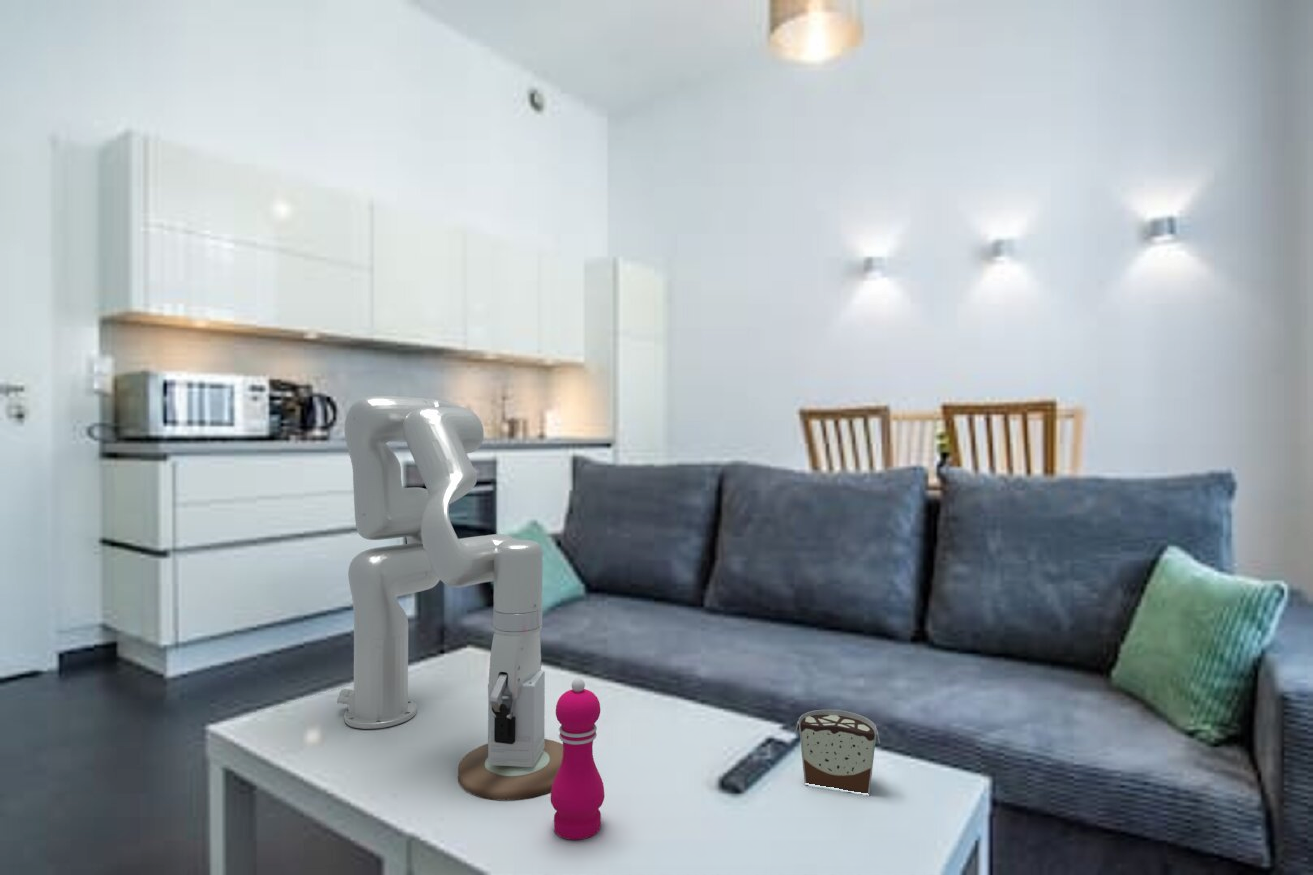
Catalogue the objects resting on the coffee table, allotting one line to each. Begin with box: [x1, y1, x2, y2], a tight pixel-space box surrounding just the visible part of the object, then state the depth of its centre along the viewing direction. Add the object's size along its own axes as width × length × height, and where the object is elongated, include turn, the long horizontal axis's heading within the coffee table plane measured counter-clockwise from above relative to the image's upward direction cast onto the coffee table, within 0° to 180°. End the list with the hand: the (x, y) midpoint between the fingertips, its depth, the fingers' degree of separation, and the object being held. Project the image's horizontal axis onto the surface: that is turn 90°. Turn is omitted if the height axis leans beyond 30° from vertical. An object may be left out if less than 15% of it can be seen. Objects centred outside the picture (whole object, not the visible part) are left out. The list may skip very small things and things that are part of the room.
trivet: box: [457, 738, 563, 801], centre depth 112 cm, size 18×18×2 cm
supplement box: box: [487, 670, 546, 767], centre depth 112 cm, size 7×7×13 cm
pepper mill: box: [550, 677, 605, 841], centre depth 96 cm, size 7×7×20 cm
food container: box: [795, 709, 881, 795], centre depth 109 cm, size 12×6×10 cm, turn 71°
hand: (516, 730), depth 112 cm, fingers closed on supplement box, 7 cm apart
